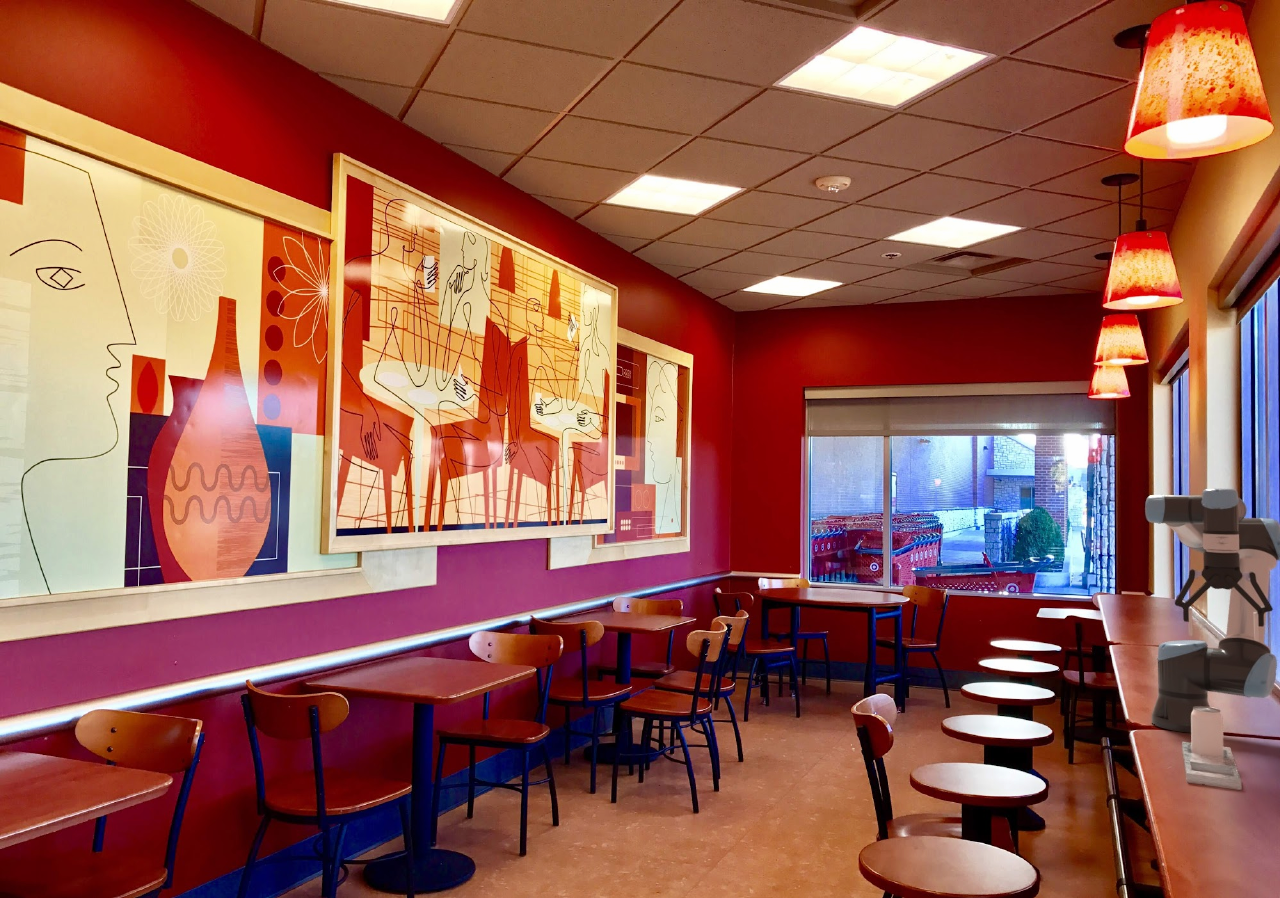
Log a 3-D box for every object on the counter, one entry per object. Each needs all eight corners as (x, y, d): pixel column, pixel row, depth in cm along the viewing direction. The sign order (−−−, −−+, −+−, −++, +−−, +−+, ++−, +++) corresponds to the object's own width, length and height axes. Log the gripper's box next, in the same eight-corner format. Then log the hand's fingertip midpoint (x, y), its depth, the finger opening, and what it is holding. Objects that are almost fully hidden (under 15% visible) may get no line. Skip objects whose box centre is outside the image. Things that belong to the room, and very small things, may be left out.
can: (1219, 757, 218) (1218, 707, 219) (1227, 765, 212) (1226, 713, 213) (1188, 754, 220) (1187, 704, 221) (1195, 762, 214) (1194, 710, 215)
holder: (1182, 749, 225) (1182, 741, 225) (1230, 755, 220) (1230, 747, 220) (1186, 782, 198) (1186, 773, 199) (1241, 790, 194) (1241, 780, 194)
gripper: (1162, 550, 226) (1164, 635, 226) (1284, 554, 214) (1286, 644, 213) (1162, 548, 233) (1164, 630, 232) (1281, 551, 220) (1283, 639, 220)
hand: (1223, 637), depth 223 cm, fingers open, 13 cm apart
